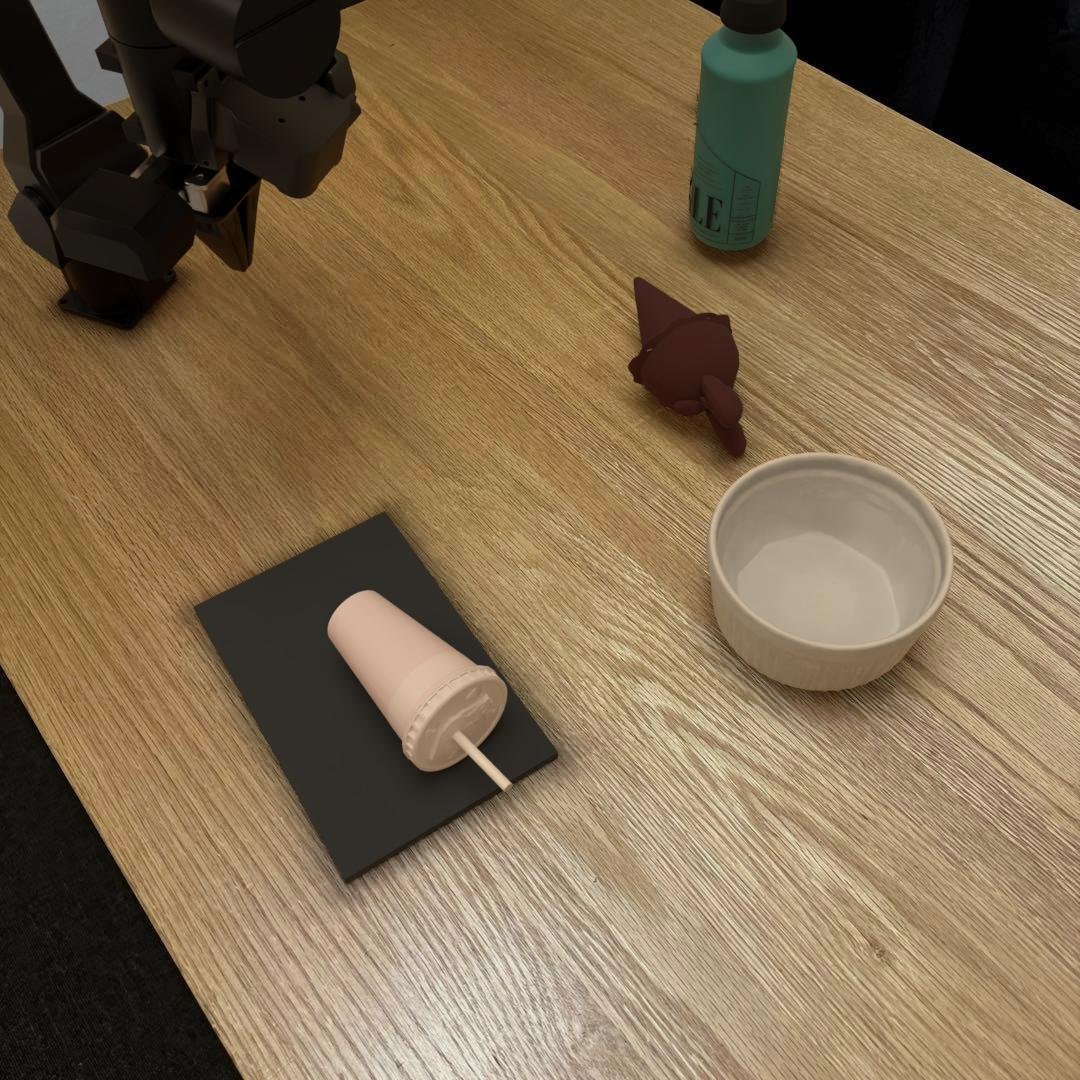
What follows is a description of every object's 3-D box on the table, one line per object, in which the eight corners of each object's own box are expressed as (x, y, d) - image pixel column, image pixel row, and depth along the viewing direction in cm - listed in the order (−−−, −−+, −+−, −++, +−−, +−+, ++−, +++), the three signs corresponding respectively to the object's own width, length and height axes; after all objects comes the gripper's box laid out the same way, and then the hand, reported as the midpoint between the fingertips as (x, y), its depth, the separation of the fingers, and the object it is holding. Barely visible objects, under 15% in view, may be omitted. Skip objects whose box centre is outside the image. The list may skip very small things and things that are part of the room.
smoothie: (287, 635, 64) (448, 809, 57) (373, 551, 65) (543, 712, 58) (338, 678, 69) (491, 842, 62) (416, 600, 70) (576, 752, 63)
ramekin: (927, 729, 65) (959, 665, 60) (687, 696, 67) (696, 630, 61) (924, 537, 73) (952, 464, 67) (708, 512, 75) (718, 438, 69)
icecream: (577, 270, 79) (677, 439, 72) (677, 220, 79) (787, 384, 71) (597, 331, 85) (691, 492, 78) (690, 285, 85) (793, 442, 78)
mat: (195, 611, 71) (192, 606, 71) (386, 516, 75) (385, 510, 75) (346, 884, 61) (344, 880, 61) (558, 757, 65) (558, 752, 64)
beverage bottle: (786, 229, 90) (828, -28, 74) (746, 280, 87) (782, 23, 71) (709, 202, 93) (734, -54, 76) (668, 251, 89) (685, -5, 73)
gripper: (198, 164, 51) (276, 413, 63) (401, -48, 61) (434, 204, 73) (-10, 109, 53) (104, 358, 66) (216, -84, 63) (278, 164, 76)
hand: (241, 267), depth 70 cm, fingers closed
